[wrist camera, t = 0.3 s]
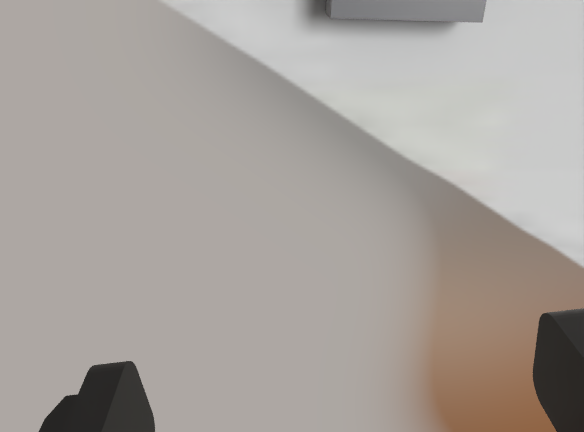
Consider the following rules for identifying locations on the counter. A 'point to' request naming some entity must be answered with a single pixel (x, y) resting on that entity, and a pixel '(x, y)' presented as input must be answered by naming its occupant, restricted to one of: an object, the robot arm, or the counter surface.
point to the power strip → (408, 10)
